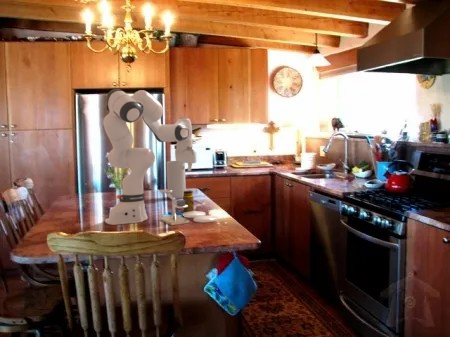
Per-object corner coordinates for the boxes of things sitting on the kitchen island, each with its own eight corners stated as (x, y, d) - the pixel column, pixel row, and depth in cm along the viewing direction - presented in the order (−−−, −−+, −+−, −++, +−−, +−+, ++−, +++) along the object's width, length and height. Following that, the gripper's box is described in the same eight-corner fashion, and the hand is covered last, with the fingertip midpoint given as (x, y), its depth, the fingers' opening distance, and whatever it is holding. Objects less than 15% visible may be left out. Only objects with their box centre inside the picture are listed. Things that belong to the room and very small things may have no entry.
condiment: (196, 211, 269) (196, 191, 268) (183, 213, 265) (183, 192, 264) (190, 209, 275) (189, 189, 274) (178, 211, 271) (177, 191, 270)
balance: (175, 227, 230) (174, 196, 229) (156, 218, 253) (155, 190, 252) (193, 224, 235) (192, 194, 234) (173, 215, 258) (172, 188, 256)
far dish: (188, 218, 249) (188, 217, 249) (178, 214, 260) (178, 213, 260) (209, 215, 255) (209, 214, 255) (199, 212, 267) (199, 210, 267)
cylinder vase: (165, 197, 323) (164, 161, 320) (182, 195, 328) (181, 160, 326) (171, 199, 312) (169, 162, 309) (188, 198, 317) (187, 161, 314)
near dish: (200, 223, 236) (200, 221, 236) (189, 219, 248) (189, 217, 248) (222, 220, 243) (222, 218, 243) (211, 216, 254) (210, 214, 254)
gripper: (197, 146, 259) (198, 171, 260) (182, 145, 276) (183, 168, 278) (187, 147, 256) (188, 172, 257) (172, 145, 273) (173, 169, 275)
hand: (185, 170), depth 268 cm, fingers open, 8 cm apart
